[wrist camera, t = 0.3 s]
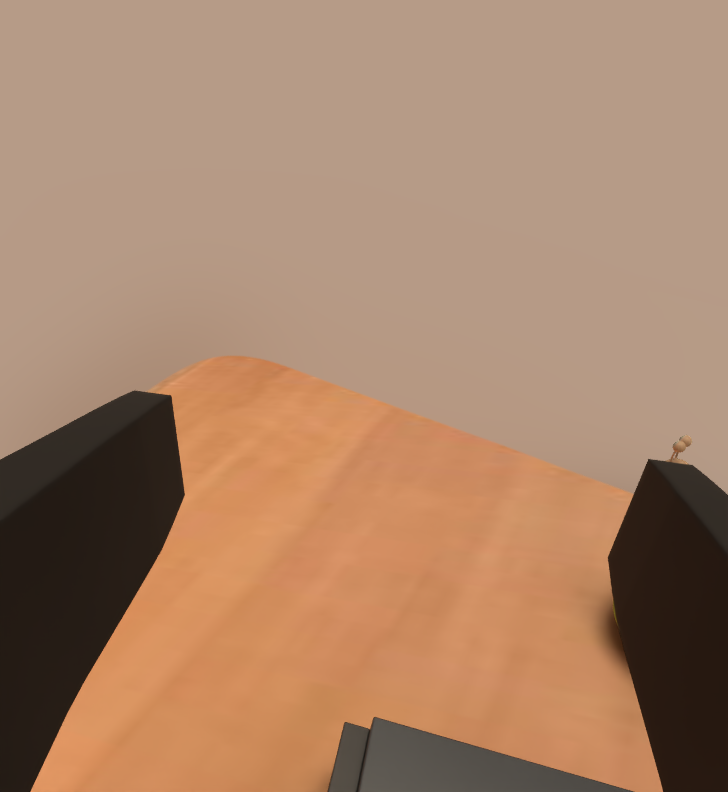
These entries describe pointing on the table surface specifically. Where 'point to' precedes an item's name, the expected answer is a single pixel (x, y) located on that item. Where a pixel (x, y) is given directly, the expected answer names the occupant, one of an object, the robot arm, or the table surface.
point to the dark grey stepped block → (438, 765)
